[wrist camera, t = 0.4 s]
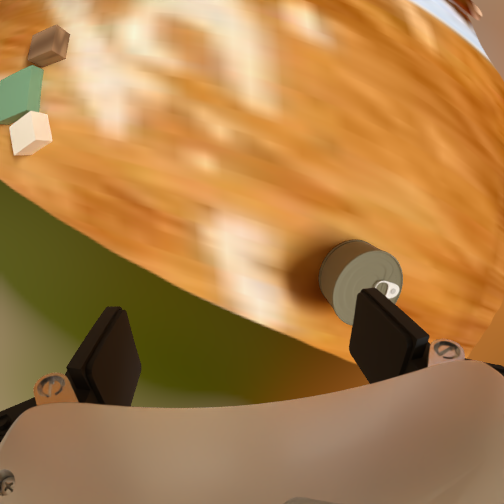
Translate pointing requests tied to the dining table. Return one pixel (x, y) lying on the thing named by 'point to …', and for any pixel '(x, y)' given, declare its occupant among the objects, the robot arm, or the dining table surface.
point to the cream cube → (30, 133)
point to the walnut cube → (49, 46)
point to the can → (358, 276)
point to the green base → (20, 94)
